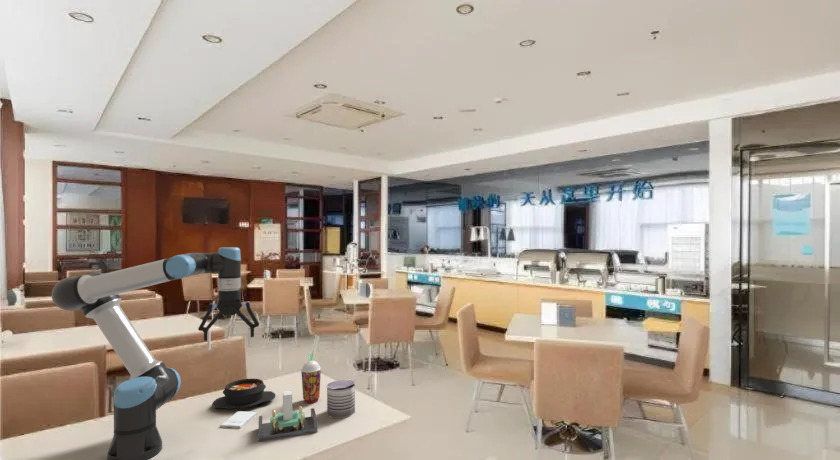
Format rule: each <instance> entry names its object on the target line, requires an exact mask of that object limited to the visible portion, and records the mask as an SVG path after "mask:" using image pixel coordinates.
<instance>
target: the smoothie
mask: <svg viewBox="0 0 840 460" xmlns="http://www.w3.org/2000/svg"><path fill="white" fill-rule="evenodd" d="M309 354H310V355H309V356H310V357H309V358H310V359H309V360H308V361H307V360H306V361H305V363H304V364H303V366H302V367H301V370H300V372H301V383H302V384H301V386H302V399H303V400H304V402H305V403H306V404H312V403H316V402H317V401H319V398H320V392H321V391H320V390H321V378H322V377H321V373H322V367H321V366H320V364H319V362H318V361H316V360H313V354H311V353H309Z"/></svg>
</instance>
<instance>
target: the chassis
mask: <svg viewBox="0 0 840 460" xmlns="http://www.w3.org/2000/svg"><path fill="white" fill-rule="evenodd" d="M302 409H303V407H302V406H301V405H299V406H298V413H302V412H303V411H302ZM271 412H272V416H271V417H275V416H276V410H275V409H273V410H272V411H271ZM314 433H318V417H317V414H316V411H315V408H314V407H313V408H311V409H310V416H305V421H303V414H301V422H299V425H293V426H287V427H280V428H278V425H276V418H273V426H270V422H265V423H263V415H259V416H258V442H264V441H271V440H277V439H283V438H288V437H289V438H290V437H295V436H302V435H307V434H314Z"/></svg>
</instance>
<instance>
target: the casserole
mask: <svg viewBox="0 0 840 460" xmlns="http://www.w3.org/2000/svg"><path fill="white" fill-rule="evenodd" d="M266 387H267V386H266V384H265V383H264V381H263V380H262V379H260V378H259V379H258V378H244V379H238V380H233V381H231V382H229V383H227V384H226V385H225V388H224V390H223V391H222V394H223V395H224V396H221V397H218V398H216V399H215V400H213V402H212V404H211V405H212V407H214V408H216V409H247V408H251V407H254V406H257V405H260V404H262V403H263V404H264V403H268V402H270V401H273V400H274V399H276V393H275V392H274V391H271V390H268V391H267V390H265V389H266Z"/></svg>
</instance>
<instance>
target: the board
mask: <svg viewBox="0 0 840 460" xmlns="http://www.w3.org/2000/svg"><path fill="white" fill-rule="evenodd" d="M297 411H298V410H293V392H292V389H288V390H282V412H277V413H276V415H275V417H272V416H270V417H269V418H270V419H269V420H270V421H269V423H270V426H273V418H276V425H278V428H280V427H287V426H293V425H299V422H301V414H303V421H305V417H306V416H305V412H303V411H302V413H299V412H297Z"/></svg>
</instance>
